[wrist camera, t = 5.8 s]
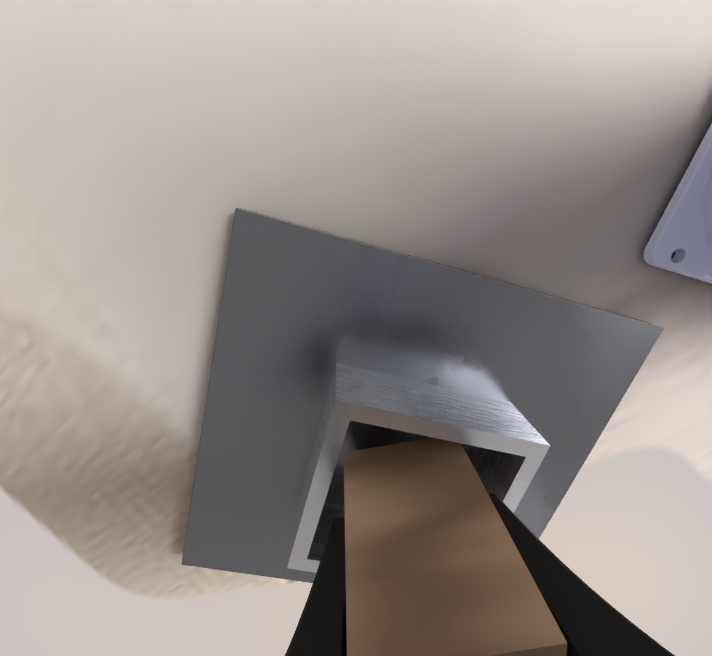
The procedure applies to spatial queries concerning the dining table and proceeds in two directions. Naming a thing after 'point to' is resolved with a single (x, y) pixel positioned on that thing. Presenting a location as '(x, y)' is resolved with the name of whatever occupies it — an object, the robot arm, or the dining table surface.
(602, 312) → the grey square socket base
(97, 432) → the dining table surface
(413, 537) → the rail end post
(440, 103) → the dining table surface
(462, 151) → the dining table surface
